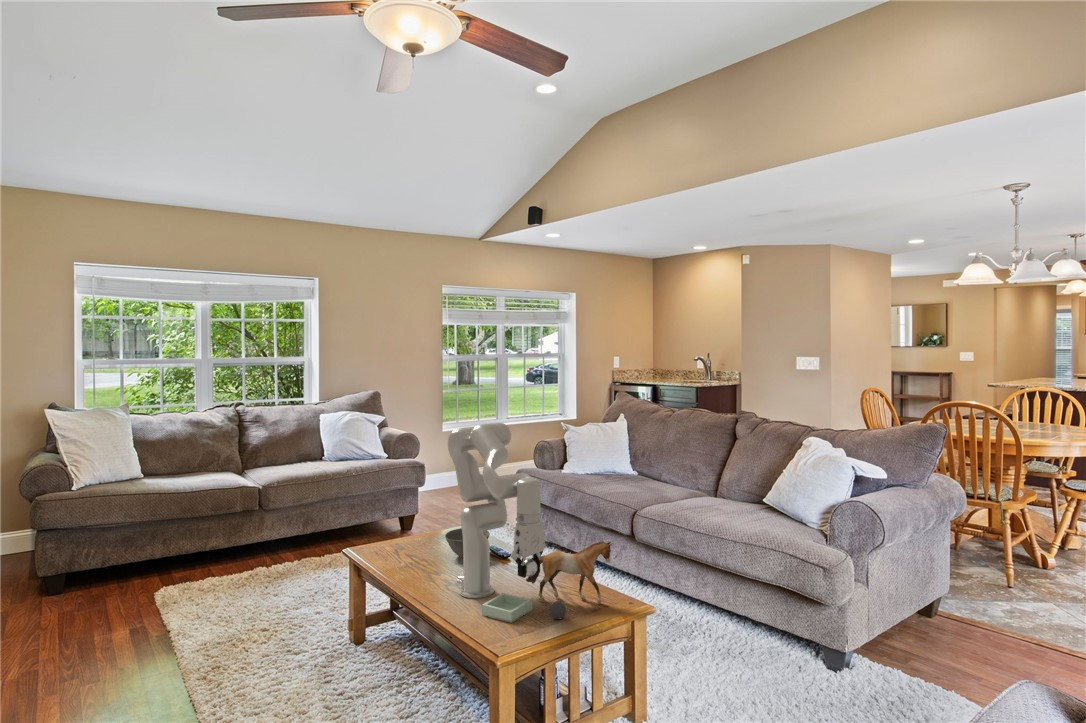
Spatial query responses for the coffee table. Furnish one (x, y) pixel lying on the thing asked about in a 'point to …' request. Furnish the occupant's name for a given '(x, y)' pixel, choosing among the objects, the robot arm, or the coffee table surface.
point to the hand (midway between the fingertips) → (528, 573)
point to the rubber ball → (558, 610)
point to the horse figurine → (572, 566)
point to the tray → (507, 607)
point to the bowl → (458, 540)
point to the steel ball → (530, 567)
